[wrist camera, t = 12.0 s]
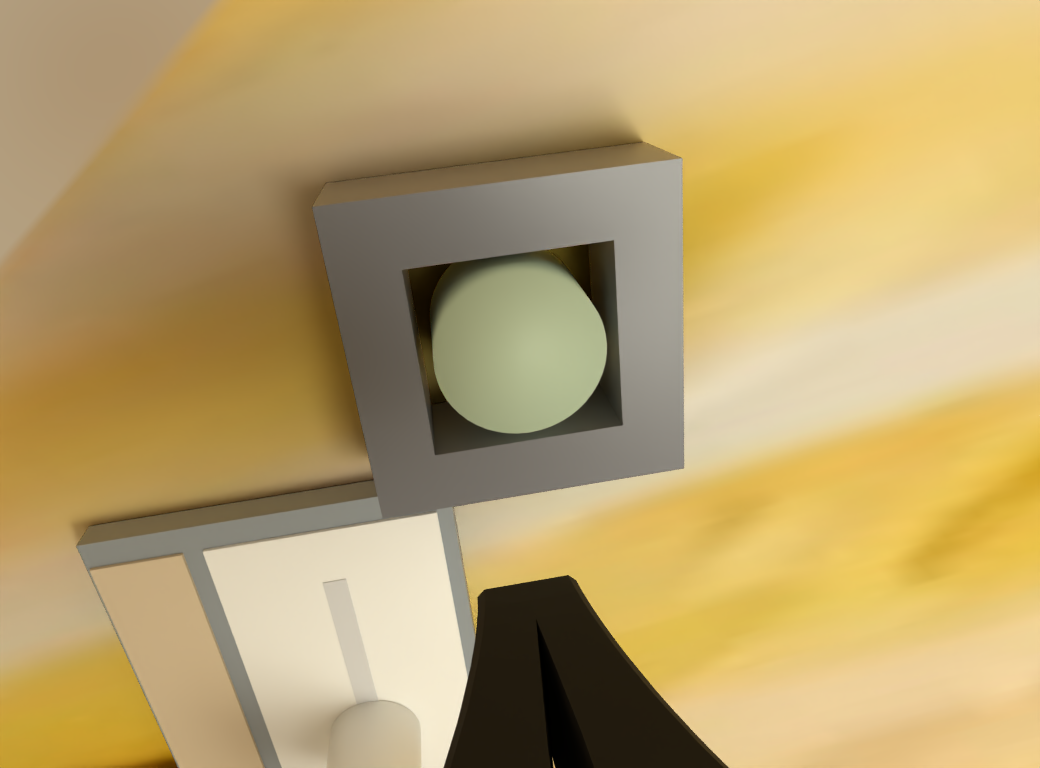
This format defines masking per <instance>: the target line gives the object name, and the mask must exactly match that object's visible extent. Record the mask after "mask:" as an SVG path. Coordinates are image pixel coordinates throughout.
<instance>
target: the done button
mask: <svg viewBox="0 0 1040 768" xmlns="http://www.w3.org/2000/svg"><path fill="white" fill-rule="evenodd" d="M430 326H431V339H432V351H433V363H434V371H435V375H436V379H437V382H438V384H439V387H440V389H441V391H442V393H443V395H444V396H445V398H446V400H447V401H448V402H449V403H450V405H451V406H452V407H453V408H454V409H455V410H456V411H457V412H458V413H459V414H460V415H462V416H463V417H464V418H466V419H467V420H469V421H470V422H472V423H474V424H476V425H478V426H480V427H483V428H485V429H488V430H492V431H496V432H502V433H529V432H534V431H539V430H542V429H545V428H548V427H551V426H553V425H555V424H557V423H559V422H561V421H563V420H564V419H566V418H568V417H569V416H571V415H572V414H573V413H574V412H576V411H577V410H578V409H579V408H580V407H581V406H582V405H583V404H584V403H585V402H586V401H587V400H588V398H589V397H590V396H591V395H592V393H593V392H594V390H595V388H596V387H597V385H598V383H599V381H600V378H601V376H602V374H603V370H604V367H605V362H606V356H607V340H606V333H605V329H604V326H603V322H602V320H601V318H600V316H599V313H598V312H597V310H596V308H595V307H594V305H593V304H592V302H591V301H590V299H589V298H588V297H587V295H586V294H585V292H584V291H583V289H582V288H581V287H580V285H579V284H578V282H577V281H576V280H575V278H574V277H573V275H572V274H571V272H570V271H569V270H568V268H567V267H566V266H565V265H564V264H563V262H562V261H560V260H559V259H558V258H557V257H556V256H555V255H553V254H552V253H550V252H549V251H547V250H540V251H533V252H526V253H519V254H512V255H505V256H497V257H490V258H483V259H476V260H469V261H462V262H455V263H452V264H451V265H450V266H449V267H448V268H447V270H446V271H445V272H444V274H443V275H442V277H441V278H440V279H439V282H438V284H437V286H436V288H435V290H434V293H433V296H432V300H431V306H430Z"/></svg>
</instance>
